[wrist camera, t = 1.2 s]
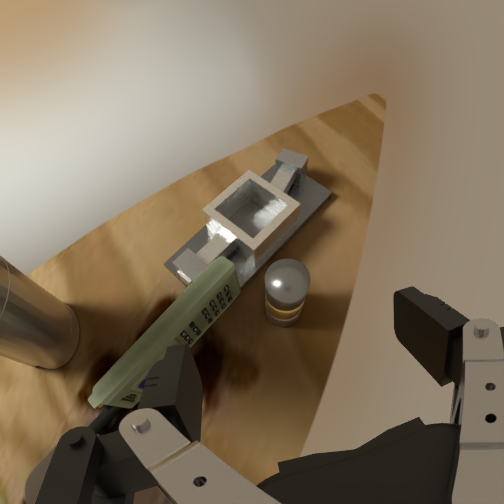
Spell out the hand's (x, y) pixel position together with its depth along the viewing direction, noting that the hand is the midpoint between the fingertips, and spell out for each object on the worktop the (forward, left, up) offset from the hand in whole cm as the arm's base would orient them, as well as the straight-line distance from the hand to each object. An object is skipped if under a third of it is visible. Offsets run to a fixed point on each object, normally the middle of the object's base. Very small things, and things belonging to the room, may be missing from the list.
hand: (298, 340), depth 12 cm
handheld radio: (-10, +8, -24) cm, 27 cm away
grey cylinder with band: (+5, +7, -24) cm, 25 cm away
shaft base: (+7, +18, -24) cm, 30 cm away
